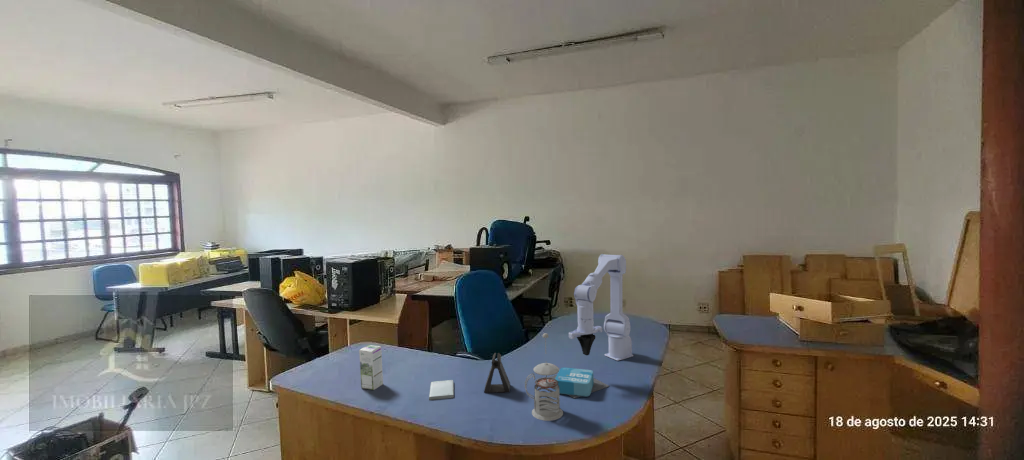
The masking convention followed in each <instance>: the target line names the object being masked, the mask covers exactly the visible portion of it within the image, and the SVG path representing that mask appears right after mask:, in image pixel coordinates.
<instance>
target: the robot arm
mask: <svg viewBox="0 0 1024 460" xmlns="http://www.w3.org/2000/svg"><path fill="white" fill-rule="evenodd" d="M597 258H598V260H597V264H598V265H597V266H596V268H595V270H594V272H590V273H589V274H588V275H587V276H586V278H585V280H584V281H583V282H582V283H581V284H579V285H577V286H576V287H575V288H574V292H573V296H574V297H573V298H574V300H575V305H576V306H577V308H576V309H577V327H576V329H574V330H573V331H569V332H568V338H569V339H570V340H574V339H576V338H577V340H578V342H579V344H580V348H581V351H582V354H583V355H585V356H589V355H590V353H591V349H592V347H593V343H594V341H595V340H596V335H595V333H603V330H604V332H605V333H606V336H608V337H607V338H608V352H607V353H604V356H605V357H607V358H610V359H611V360H615V361H616V362H618V361H622V360H625V359H629V358H632V357H634V354H633V348H632V347H633V343H632V338H631V336H630V332H631V323H630V318H629V317H628V315H626V314H625V313H624V312H623V306H624V305H623V302H624V301H623V295H624V294H623V293H624V292H623V291H624V290H623V287H624V286H623V281H624V280H623V275H625V274H626V273H627V260H626V257H625V256H624V255H623V254H604V253H600V255H599V256H598V257H597ZM606 274H608V275H609V276H610V277H609V278H610V281H609V282H610V285H609V286H610V296H609V297H610V299H609V300H610V313H607V315H605V317H604V322H603V326H600V325H596V326H595V325H594V323H595V322H594V301H595V300H596V297H597V294H598V290H599V288H600V286H601V285H602V284H603V278H604V276H605V275H606Z"/></svg>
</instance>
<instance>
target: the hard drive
mask: <svg viewBox="0 0 1024 460" xmlns="http://www.w3.org/2000/svg"><path fill="white" fill-rule="evenodd" d="M429 386H430V387H429V395H428V401H433V400H435V401H436V400H443V399H454V380H453V379H449V380H448V379H446V380H437V381H431V382H430V385H429Z"/></svg>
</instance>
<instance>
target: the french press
mask: <svg viewBox="0 0 1024 460" xmlns="http://www.w3.org/2000/svg"><path fill="white" fill-rule="evenodd" d="M542 338H543V339H544V343H545V353H547V338H549V333H546V332H545V333H543V334H542ZM559 370H560V367H558V366H557V365H556V364H553V363H550V362H542V363H539V364H537V365H535V366H534V367H533V372H534V373H533V372H532V373H531V374H529V375H527V377H526V378H525V381H524V389H525V393H526V395H527V396H528V397H529V398H530V399H532V400H533V407H534V408H533V409H532V410H531V415H532V416H533V417H534V418H535V419H537V420H540V421H546V422H549V421H551V422H552V421H555V420H558V419H559V420H560V418H562V417H563V415H564V411H563V409H561V407H560V406H561V405H560V401H561V399H560V393H559V385H558V381H557V380H556V379H554V378H548V376H555V375H557V374H558V372H559ZM535 374H537V375H540V376H545V377H539V378H537V379H536V376H535ZM531 378H533V380H535V382H534V395H533V394H531V393H529V392H528V389H527V386H528V385H527V384H528V381H530V379H531ZM551 389H552V390H551ZM545 390H546V391H545ZM555 390H556V391H555Z"/></svg>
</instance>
